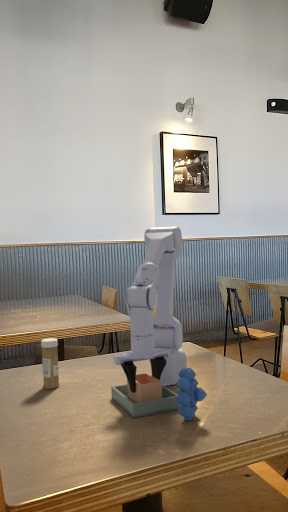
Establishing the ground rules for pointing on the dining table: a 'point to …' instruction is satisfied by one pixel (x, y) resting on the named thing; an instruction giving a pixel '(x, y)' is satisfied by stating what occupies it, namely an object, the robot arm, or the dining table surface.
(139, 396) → the small crate
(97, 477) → the dining table surface
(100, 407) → the dining table surface
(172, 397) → the base crate
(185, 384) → the grapes
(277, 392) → the dining table surface
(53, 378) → the sprinkles bottle
